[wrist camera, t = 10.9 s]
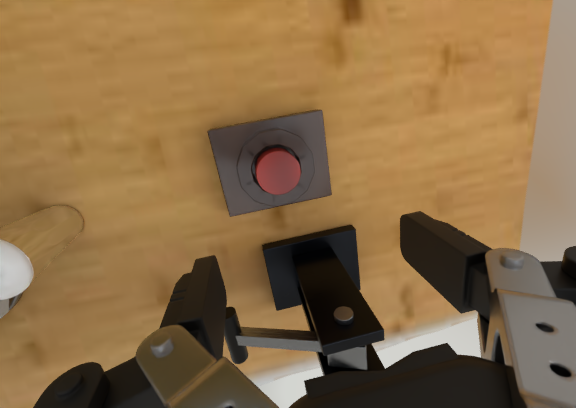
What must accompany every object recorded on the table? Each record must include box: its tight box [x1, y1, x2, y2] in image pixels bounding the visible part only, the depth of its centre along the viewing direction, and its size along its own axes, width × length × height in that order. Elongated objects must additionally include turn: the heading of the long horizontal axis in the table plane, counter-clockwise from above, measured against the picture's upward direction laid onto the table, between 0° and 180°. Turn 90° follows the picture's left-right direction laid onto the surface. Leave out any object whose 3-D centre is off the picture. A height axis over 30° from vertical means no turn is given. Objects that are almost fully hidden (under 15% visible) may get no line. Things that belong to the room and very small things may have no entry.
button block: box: [208, 110, 332, 217], centre depth 25 cm, size 10×8×4 cm
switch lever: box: [224, 307, 367, 370], centre depth 22 cm, size 12×5×2 cm, turn 99°
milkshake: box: [0, 205, 84, 300], centre depth 21 cm, size 4×5×10 cm
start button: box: [255, 148, 301, 195], centre depth 23 cm, size 4×4×2 cm
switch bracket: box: [262, 225, 385, 375], centre depth 25 cm, size 10×8×13 cm
